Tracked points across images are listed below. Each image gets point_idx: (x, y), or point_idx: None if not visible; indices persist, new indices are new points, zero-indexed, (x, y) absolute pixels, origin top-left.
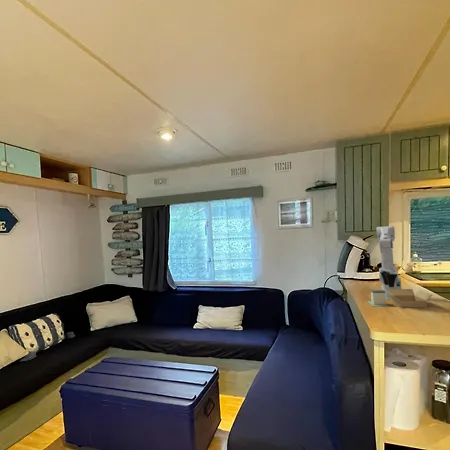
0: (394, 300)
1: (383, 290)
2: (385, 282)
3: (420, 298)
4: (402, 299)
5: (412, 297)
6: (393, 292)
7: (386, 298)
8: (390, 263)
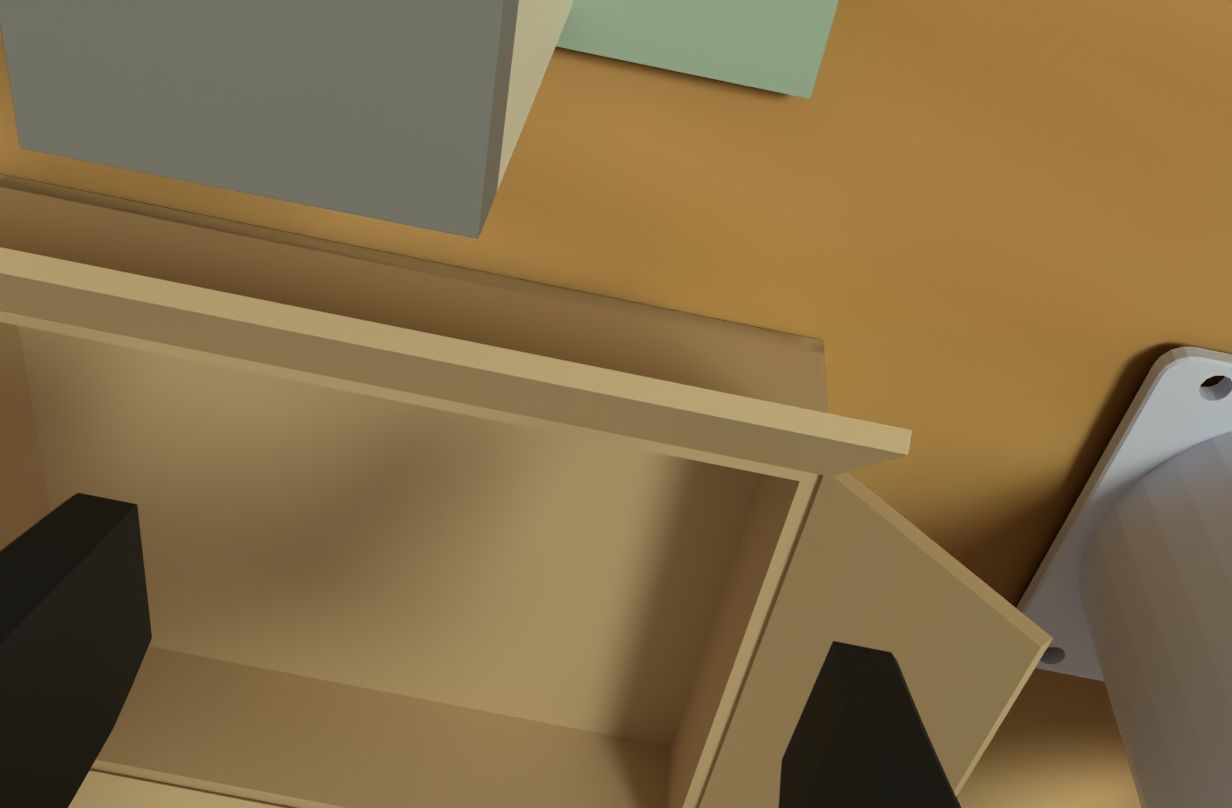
0: (446, 330)
1: (191, 153)
2: (841, 770)
3: (272, 793)
4: (726, 608)
5: (670, 799)
6: (877, 634)
7: (1182, 405)
8: None
